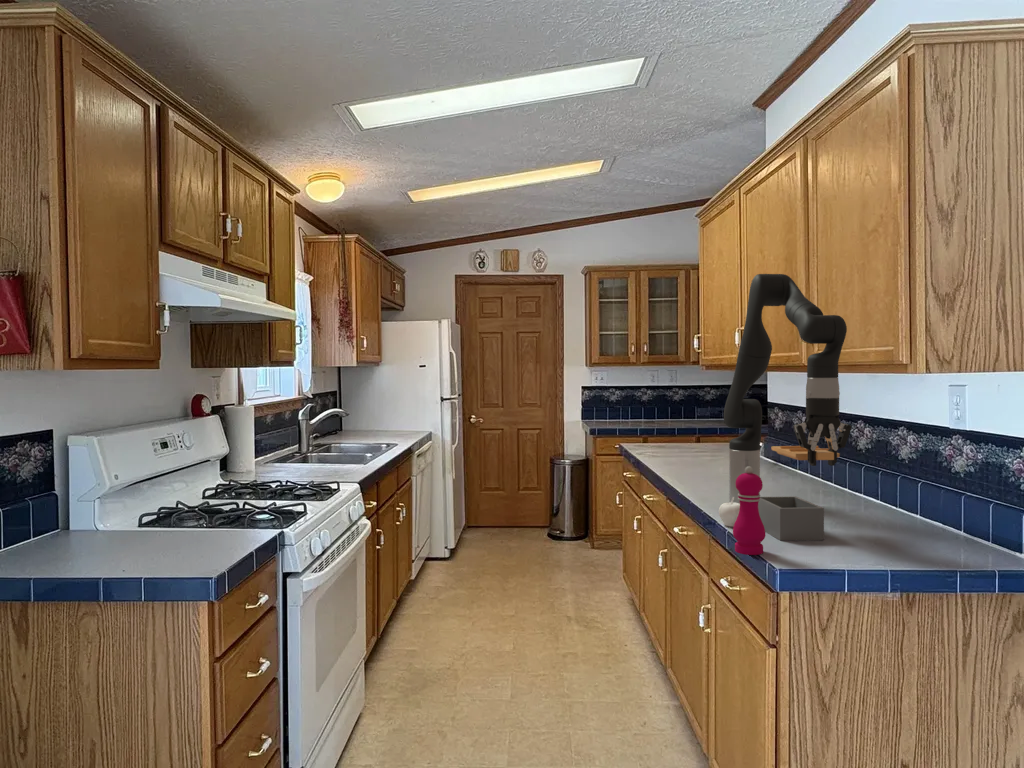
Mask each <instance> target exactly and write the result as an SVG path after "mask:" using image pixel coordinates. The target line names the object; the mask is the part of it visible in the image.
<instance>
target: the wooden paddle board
mask: <svg viewBox="0 0 1024 768" xmlns="http://www.w3.org/2000/svg"><path fill="white" fill-rule="evenodd" d="M828 450H830V449H829V448H820V447H819V445H816V449H815V451H816V461H828V460H834V452H830V451H828ZM771 451H773V452H776V454H778V455H781V456H784V457H788V458H791V459H794V460H796V461H808V451H807V449H806V448H803V447H800V445H780V446H779V445H778V446H776V445H775V446H774V445H773V446H771ZM840 455H841V453H839V452H837V458H840Z"/></svg>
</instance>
